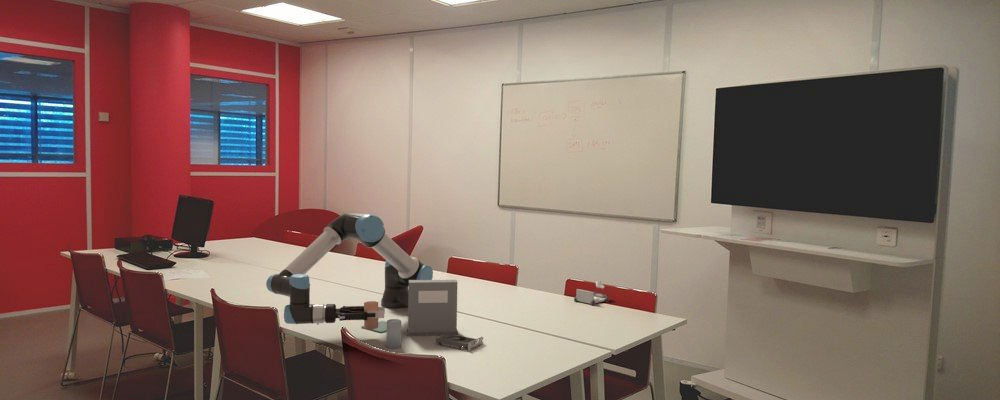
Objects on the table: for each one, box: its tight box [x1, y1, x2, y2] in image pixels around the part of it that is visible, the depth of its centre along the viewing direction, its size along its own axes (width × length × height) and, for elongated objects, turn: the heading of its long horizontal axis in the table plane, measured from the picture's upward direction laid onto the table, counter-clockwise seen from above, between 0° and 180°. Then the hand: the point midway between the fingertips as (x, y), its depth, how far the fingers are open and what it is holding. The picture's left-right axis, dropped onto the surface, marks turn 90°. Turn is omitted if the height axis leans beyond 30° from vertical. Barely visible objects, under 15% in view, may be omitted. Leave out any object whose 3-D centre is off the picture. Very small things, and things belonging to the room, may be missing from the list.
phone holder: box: [573, 281, 610, 307], centre depth 319 cm, size 18×10×12 cm
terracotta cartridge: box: [363, 300, 379, 330], centre depth 245 cm, size 6×6×10 cm
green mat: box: [361, 320, 403, 334], centre depth 261 cm, size 12×12×1 cm
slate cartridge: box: [385, 318, 402, 350], centre depth 235 cm, size 6×6×10 cm
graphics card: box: [435, 334, 484, 352], centre depth 240 cm, size 17×4×12 cm
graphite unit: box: [406, 279, 459, 337], centre depth 254 cm, size 7×21×22 cm, turn 99°
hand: (384, 312), depth 246 cm, fingers closed on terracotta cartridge, 5 cm apart
